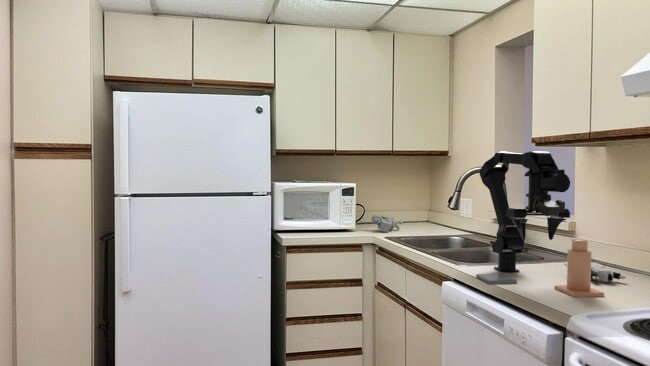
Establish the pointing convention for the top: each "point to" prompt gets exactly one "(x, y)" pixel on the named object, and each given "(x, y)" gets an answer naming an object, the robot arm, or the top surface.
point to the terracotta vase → (579, 266)
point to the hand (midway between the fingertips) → (537, 239)
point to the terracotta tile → (579, 292)
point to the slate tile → (496, 278)
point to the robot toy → (603, 273)
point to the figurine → (385, 223)
